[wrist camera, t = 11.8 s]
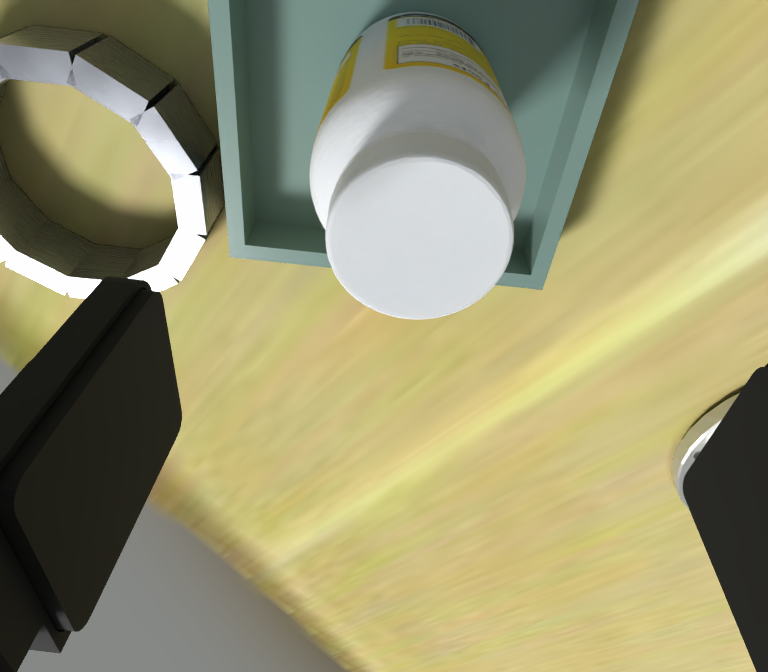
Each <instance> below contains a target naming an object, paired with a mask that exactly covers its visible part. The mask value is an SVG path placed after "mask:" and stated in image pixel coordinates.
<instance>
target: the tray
mask: <svg viewBox="0 0 768 672" xmlns="http://www.w3.org/2000/svg"><path fill="white" fill-rule="evenodd" d="M638 3H639V0H208V9H209V21H210V33H211V44H212V56H213V67H214V79H215V91H216V102H217V114H218V125H219V137H220V149H221V160H222V172H223V184H224V195H225V207H226V218H227V230H228V242H229V253H230V257H233V258H243V259H252V260H262V261H272V262H281V263H291V264H300V265H310V266H319V267H329V268H332V267H331V264H330V262H329V259H328V255H327V250H326V241H325V231H326V230H325V229H324V227H323V225H322V223H321V222H320V220H319V217H318V215H317V213H316V210H315V207H314V203H313V200H312V196H311V190H310V176H309V174H310V162H311V155H312V150H313V145H314V141H315V138H316V135H317V131H318V128H319V125H320V122H321V119H322V116H323V113H324V110H325V107H326V104H327V100H328V98H329V94H330V92H331V88H332V85H333V82H334V79H335V76H336V73H337V70H338V68H339V65H340V63H341V61H342V59H343V57H344V55H345V53H346V52H347V50H348V49H349V47H350V46H351V44H352V43H353V42H354V41H355V40H356V39H357V37H358V36H359V35H360V34H361V33H362V32H364V31H365V30H366V29H367V28H368V27H370V26H371V25H373V24H374V23H376V22H378V21H380V20H382V19H384V18H386V17H389V16H392V15H395V14H399V13H406V12H425V13H431V14H435V15H439V16H442V17H445V18H447V19H449V20H451V21H453V22H454V23H456V24H458V25H459V26H461V27H462V28H463V29H464V30H466V31H467V32H468V33H469V34H470V35H471V36H472V37H473V38H474V40H475V41H476V42H477V43H478V45H479V46H480V48H481V49H482V51H483V52H484V54H485V56H486V58H487V60H488V62H489V64H490V66H491V68H492V70H493V73H494V75H495V77H496V79H497V82H498V84H499V87H500V89H501V91H502V94H503V96H504V98H505V101H506V103H507V106H508V108H509V110H510V113H511V115H512V117H513V120H514V122H515V124H516V127H517V130H518V133H519V135H520V138H521V142H522V146H523V150H524V155H525V163H526V182H525V189H524V195H523V198H522V202H521V205H520V208H519V211H518V213H517V216H516V218H515V219H514V221H513V223H514V245H513V250H512V254H511V257H510V260H509V263H508V265H507V267H506V269H505V271H504V273H503V275H502V276H501V278H500V279H499V281H498V282H497V283H496V284H495V285H501V286H511V287H520V288H530V289H540V290H542V289H543V286H544V283H545V280H546V277H547V274H548V271H549V268H550V265H551V262H552V259H553V256H554V253H555V250H556V247H557V244H558V241H559V238H560V236H561V233H562V230H563V227H564V224H565V221H566V218H567V215H568V212H569V209H570V206H571V203H572V200H573V197H574V194H575V191H576V188H577V185H578V182H579V179H580V176H581V173H582V170H583V167H584V164H585V161H586V158H587V155H588V152H589V149H590V146H591V143H592V140H593V137H594V134H595V131H596V128H597V125H598V122H599V119H600V116H601V113H602V110H603V107H604V104H605V102H606V99H607V96H608V93H609V90H610V87H611V84H612V81H613V78H614V75H615V72H616V69H617V66H618V63H619V60H620V57H621V54H622V51H623V48H624V45H625V42H626V39H627V36H628V33H629V30H630V27H631V24H632V21H633V18H634V15H635V12H636V9H637V6H638Z"/></svg>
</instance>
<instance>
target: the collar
mask: <svg viewBox="0 0 768 672" xmlns="http://www.w3.org/2000/svg"><path fill="white" fill-rule="evenodd" d="M11 79H15V80H24V81H33V82H42V83H50V84H59V85H68V86H72V87H74V88H76V89H77V90H79V91H81V92H82V93H84V94H85V95H87V96H89V97H90V98H92V99H93V100H95V101H97V102H98V103H100V104H101V105H103V106H105V107H106V108H108V109H109V110H111V111H113V112H114V113H116V114H118V115H119V116H121V117H122V118H124V119H126V120H127V121H129V122H130V123H132V124H133V125H134V126H135V128H136V129H137V131H138V132H139V133H140V135H141V136H142V138H143V139H144V140H145V142H146V143H147V145H148V146H149V147H150V149H151V150H152V152H153V153H154V154H155V156H156V157H157V159H158V160H159V161H160V163H161V164H162V166H163V167H164V168H165V170H166V171H167V173H168V174H169V175H170V177H171V181H172V188H173V195H174V201H175V208H176V215H177V222H178V230H177V232H176V234H175V235H174V236H171V237H169V238H167V239H164V240H162V241H160V242H157V243H155V244H153V245H151V246H148V247H146V248H144V249H134V248H124V247H115V246H105V245H96V244H93V243H91V242H89V241H88V240H86V239H84V238H82V237H80V236H78V235H76V234H74V233H73V232H71V231H69V230H67V229H65V228H63V227H61V226H59V225H58V224H56V223H54V222H52V221H50V220H48V219H47V218H46V217H45V216H44V215H43V213H42V212H41V211H40V210H39V209H38V208H37V207H36V206H35V205H34V203H33V202H32V201H31V200H30V199H29V198H28V197H27V196H26V195H25V193H24V192H23V191H22V190H21V189H20V188H19V187H18V186H17V185H16V183H15V182H14V181H13V180H12V179H11V178H10V175H9V172H8V169H7V166H6V163H5V160H4V157H3V154H2V151H1V148H0V262H2V261H4V260H6V259H7V262H6V265H5V266H6V267H8V268H10V269H12V270H14V271H16V272H18V273H20V274H22V275H24V276H26V277H28V278H30V279H32V280H34V281H36V282H38V283H40V284H42V285H44V286H46V287H48V288H51V289H53V290H55V291H57V292H59V293H61V294H63V295H65V294H66V293H67V292H68V293H69V296H70V297H75V298H85V299H86V298H87V297H88V295H89V294H90V293H91V292H92V291H93V290H94V289H95V287H96V286H97V285H98V284H99V283H100V282H101V281H102V280H103V279H104V278H105V277H107V276H115V277H123V278H131V279H139V280H145V281H147V282H148V283H149V284H150V286H151V289H152V291H158V292H159V291H161V290H164V289H166V288H169V287H171V286H174V285H176V284H178V283H179V281H181V280H182V279H183V277H184V275H185V274H186V272H187V270H188V269H189V267H190V265H191V263H192V262H193V260H194V258H195V257H196V255H197V253H198V252H199V250H200V248H201V246H202V245H203V243H204V241H205V240H206V238H207V236H208V234H209V233H210V231H211V229H212V227H213V225H214V224H215V222H216V220H217V218H218V216H219V215H220V213H221V211H222V206H223V205H224V202H223V190H222V179H221V168H220V156H219V148H214V146H215V145H216V144H217V142H216V141H215V139H214V138H213V136H212V135H211V133H210V131H209V130H208V128H207V127H206V125H205V124H204V122H203V120H202V119H201V117H200V116H199V114H198V113H197V111H196V110H195V108H194V106H193V105H192V103H191V102H190V100H189V99H188V97H187V95H186V94H185V92H184V91H183V89H182V88H181V86H180V84H178V85H176V86H174V87H172V88H170V87H171V85H172V83H173V80H174V78H172V77H171V76H169V75H168V74H166V73H165V72H163V71H162V70H160V69H159V68H157V67H156V66H154V65H153V64H151V63H150V62H148V61H147V60H145V59H144V58H142V57H141V56H139V55H138V54H136V53H135V52H133V51H132V50H130V49H129V48H127V47H126V46H124V45H123V44H121V43H120V42H118V41H117V40H115V39H114V38H112V37H111V36H109V37H107V38H105V39H104V34H103V33H96V32H88V31H79V30H71V29H62V28H53V27H45V26H36V25H33V26H31V27H25V28H23V29H20V30H18V31H15V32H13V33H10V34H8V35H5V36H3V37H1V38H0V102H1V98H2V94H3V90H4V87H5V83H6V82H7V81H9V80H11Z"/></svg>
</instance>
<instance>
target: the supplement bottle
mask: <svg viewBox="0 0 768 672" xmlns="http://www.w3.org/2000/svg"><path fill="white" fill-rule="evenodd" d="M309 176H310V190H311V196H312V200H313V203H314V207H315V210H316V213H317V215H318V217H319V220H320V222H321V223H322V225H323V227H324V229H325V230H326V231H325V241H326V250H327V255H328V259H329V262H330V264H331V267H332V269H333V271H334V274H335V275H336V277H337V278H338V280H339V282H340V283H341V284H342V285H343V287H344V288H345V289H346V290H347V291H348V292H349V293H350V294H351V295H352V296H353V297H354V298H356V299H357V300H358V301H360V302H361V303H363V304H364V305H366V306H367V307H369V308H371V309H373V310H375V311H377V312H380V313H383V314H386V315H390V316H393V317H398V318H403V319H431V318H438V317H442V316H446V315H450V314H453V313H455V312H458V311H460V310H463V309H465V308H467V307H468V306H470V305H472V304H474V303H475V302H477V301H478V300H479V299H481V298H482V297H483V296H485V295H486V294H487V293H488V292H489V291H490V290H491V289H492V288H493V287H494V286H495V284H496V283H497V282H498V281H499V279H500V278H501V276H502V275H503V273H504V271H505V269H506V267H507V265H508V263H509V260H510V257H511V254H512V250H513V245H514V223H513V221H514V219H515V218H516V216H517V213H518V211H519V208H520V205H521V202H522V198H523V195H524V189H525V182H526V163H525V155H524V150H523V146H522V142H521V138H520V135H519V133H518V130H517V127H516V124H515V122H514V120H513V117H512V115H511V113H510V110H509V108H508V106H507V103H506V101H505V98H504V96H503V94H502V91H501V89H500V87H499V84H498V82H497V79H496V77H495V75H494V73H493V70H492V68H491V66H490V64H489V62H488V60H487V58H486V56H485V54H484V52H483V51H482V49H481V48H480V46H479V45H478V43H477V42H476V41H475V40H474V38H473V37H472V36H471V35H470V34H469V33H468V32H467V31H466V30H464V29H463V28H462V27H461V26H459V25H458V24H456V23H454V22H453V21H451V20H449V19H447V18H445V17H442V16H439V15H435V14H431V13H425V12H406V13H399V14H395V15H392V16H389V17H386V18H384V19H382V20H380V21H378V22H376V23H374V24H373V25H371V26H370V27H368V28H367V29H366V30H365V31H364V32H362V33H361V34H360V35H359V36H358V37H357V39H356V40H355V41H354V42H353V43H352V44H351V46H350V47H349V49H348V50H347V52H346V53H345V55H344V57H343V59H342V61H341V63H340V65H339V68H338V70H337V73H336V76H335V79H334V82H333V85H332V88H331V92H330V94H329V98H328V100H327V104H326V107H325V110H324V113H323V116H322V119H321V122H320V125H319V128H318V131H317V135H316V138H315V141H314V145H313V150H312V155H311V162H310V174H309Z"/></svg>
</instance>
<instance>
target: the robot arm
mask: <svg viewBox="0 0 768 672" xmlns="http://www.w3.org/2000/svg"><path fill="white" fill-rule="evenodd" d="M181 421H182V410H181V404H180V398H179V392H178V387H177V381H176V375H175V369H174V363H173V357H172V351H171V345H170V339H169V333H168V327H167V322H166V316H165V310H164V304H163V299H162V295H161V294H160V292H158V291H152V289H151V286H150V284H149V283H148V282H147V281H145V280H139V279H131V278H123V277H115V276H107V277H105V278H104V279H103V280H102V281H101V282H100V283H99V284H98V285H97V286H96V287H95V289H94V290H93V291H92V292H91V293H90V294H89V295H88V297H87V298H86V299H85V300H84V301H83V302H82V303H81V305H80V306H79V307H78V308H77V309H76V310H75V311H74V313H73V314H72V315H71V316H70V317H69V318H68V319H67V321H66V322H65V323H64V324H63V325H62V326H61V327H60V329H59V330H58V331H57V332H56V333H55V334H54V336H53V337H52V338H51V339H50V340H49V341H48V342H47V344H46V345H45V346H44V347H43V348H42V349H41V350H40V352H39V353H38V354H37V355H36V356H35V357H34V358H33V359H32V360H31V361H30V362H29V363H28V364H27V365H26V366H25V367H24V368H23V369H22V371H21V372H20V373H19V374H18V375H17V376H16V377H15V379H14V380H13V381H12V382H11V383H10V384H9V385H8V387H7V388H6V389H5V390H4V391H3V392H2V394H1V395H0V672H17V671H18V669H19V667H20V665H21V663H22V661H23V660H24V658H25V656H26V654H27V652H28V650H37V651H45V652H54V653H60V652H61V651H62V649H63V647H64V645H65V643H66V641H67V639H68V637H69V635H70V633H71V631H75V632H76V631H80V630H81V629H82V628H83V627H84V626H85V625H86V623H87V622H88V620H89V618H90V616H91V614H92V612H93V610H94V608H95V606H96V604H97V602H98V600H99V598H100V596H101V593H102V591H103V589H104V587H105V585H106V583H107V581H108V579H109V577H110V574H111V573H112V571H113V568H114V566H115V564H116V562H117V560H118V558H119V556H120V554H121V552H122V549H123V548H124V546H125V543H126V541H127V539H128V537H129V535H130V533H131V531H132V529H133V527H134V525H135V523H136V521H137V518H138V516H139V514H140V512H141V510H142V508H143V506H144V504H145V502H146V500H147V498H148V496H149V494H150V492H151V489H152V487H153V485H154V483H155V481H156V479H157V477H158V475H159V473H160V471H161V469H162V467H163V465H164V462H165V460H166V458H167V456H168V454H169V452H170V450H171V448H172V446H173V444H174V442H175V440H176V437H177V435H178V433H179V430H180V427H181ZM671 474H672V478H673V483H674V485H675V488H676V490H677V492H678V494H679V496H680V499H681V501H682V502H683V503H684V504H685V506H686V507H687V508H688V509H689V510H690V512H691V514H692V517H693V519H694V522H695V524H696V526H697V529H698V531H699V534H700V536H701V539H702V541H703V543H704V546H705V548H706V551H707V553H708V555H709V558H710V560H711V563H712V565H713V568H714V570H715V572H716V575H717V577H718V580H719V582H720V584H721V587H722V589H723V592H724V594H725V597H726V599H727V601H728V604H729V606H730V609H731V611H732V614H733V616H734V618H735V621H736V623H737V626H738V628H739V630H740V633H741V635H742V638H743V640H744V643H745V645H746V647H747V650H748V652H749V655H750V657H751V659H752V662H753V664H754V667H755V669H756V672H768V364H767V365H766V366H765V367H760V368H758V369H757V370H756V371H755V372H754V373H753V374H752V376H751V377H750V379H749V380H748V382H747V383H746V385H745V386H744V388H743V389H742V391H741V392H740V393H738V394H736V395H734V396H732V397H731V398H729V399H727V400H725V401H724V402H722V403H721V404H719V405H718V406H717V407H715V408H714V409H712V410H711V411H709V412H708V413H707V414H705V415H704V416H703V417H702V418H701V419H700V420H699V421H698V422H697V423H696V424H695V425H694V426H693V427H692V428H691V429H690V430H689V431H688V432H687V434H686V435H685V437H684V438H683V439H682V441H681V442H680V443H679V445H678V447H677V450H676V452H675V454H674V457H673V460H672V468H671Z"/></svg>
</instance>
